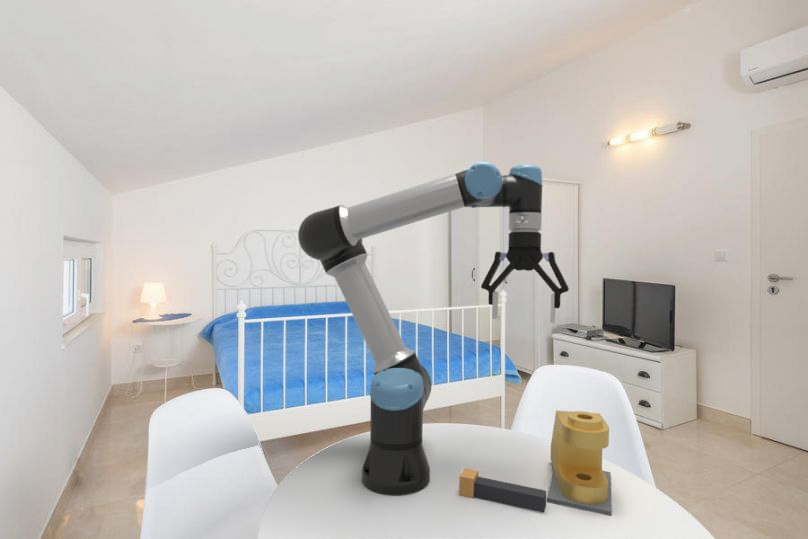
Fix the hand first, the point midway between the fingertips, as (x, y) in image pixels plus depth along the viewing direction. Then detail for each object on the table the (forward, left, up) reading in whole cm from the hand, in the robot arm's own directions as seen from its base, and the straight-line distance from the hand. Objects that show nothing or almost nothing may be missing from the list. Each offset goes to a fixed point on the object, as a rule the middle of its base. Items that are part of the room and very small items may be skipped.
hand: (523, 320), depth 110 cm
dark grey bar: (-1, -19, -35) cm, 40 cm away
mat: (+14, -7, -35) cm, 38 cm away
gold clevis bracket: (+13, -5, -34) cm, 37 cm away
